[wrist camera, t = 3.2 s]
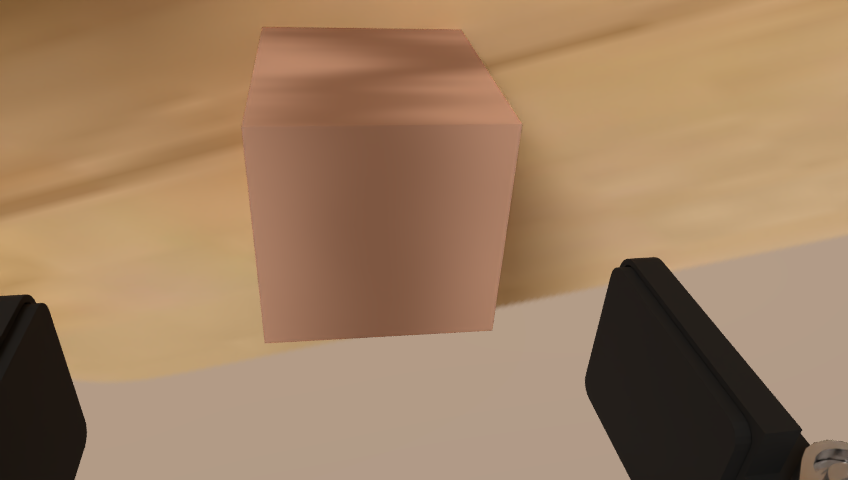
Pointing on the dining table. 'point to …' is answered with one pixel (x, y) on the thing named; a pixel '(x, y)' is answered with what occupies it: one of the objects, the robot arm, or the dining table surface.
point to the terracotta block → (376, 182)
